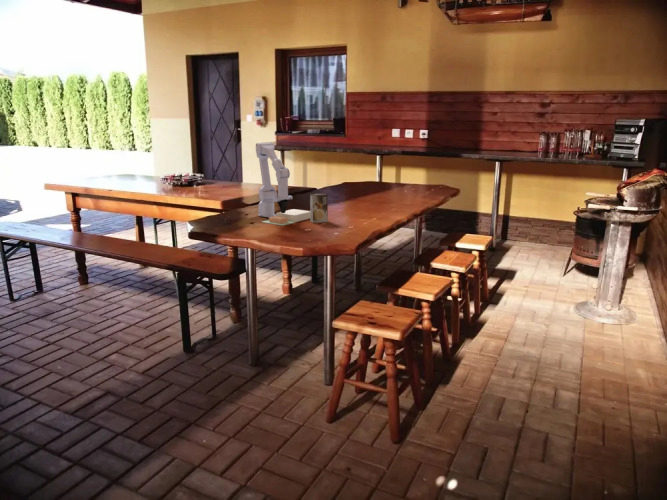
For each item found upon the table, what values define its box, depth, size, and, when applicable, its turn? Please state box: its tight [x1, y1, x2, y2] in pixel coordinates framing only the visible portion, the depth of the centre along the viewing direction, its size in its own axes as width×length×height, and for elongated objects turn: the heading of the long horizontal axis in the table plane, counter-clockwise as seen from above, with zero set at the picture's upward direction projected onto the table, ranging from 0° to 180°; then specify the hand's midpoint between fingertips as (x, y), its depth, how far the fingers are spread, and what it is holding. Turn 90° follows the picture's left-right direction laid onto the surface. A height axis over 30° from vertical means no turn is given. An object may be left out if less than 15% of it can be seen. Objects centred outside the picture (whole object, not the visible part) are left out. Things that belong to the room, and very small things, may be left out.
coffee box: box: [309, 193, 329, 224], centre depth 305 cm, size 9×6×16 cm
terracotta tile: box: [268, 216, 288, 224], centre depth 303 cm, size 9×6×2 cm, turn 55°
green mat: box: [261, 219, 297, 227], centre depth 304 cm, size 16×12×1 cm
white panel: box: [276, 208, 310, 223], centre depth 314 cm, size 14×16×4 cm
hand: (283, 212), depth 306 cm, fingers closed
